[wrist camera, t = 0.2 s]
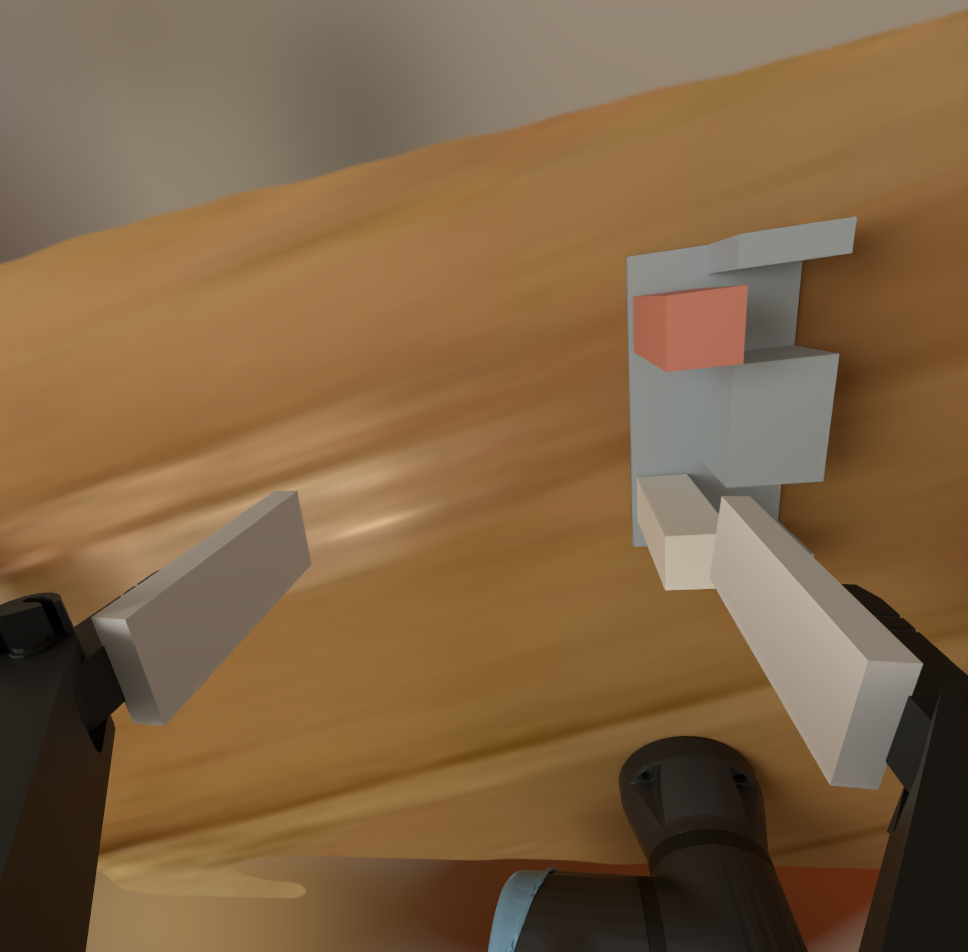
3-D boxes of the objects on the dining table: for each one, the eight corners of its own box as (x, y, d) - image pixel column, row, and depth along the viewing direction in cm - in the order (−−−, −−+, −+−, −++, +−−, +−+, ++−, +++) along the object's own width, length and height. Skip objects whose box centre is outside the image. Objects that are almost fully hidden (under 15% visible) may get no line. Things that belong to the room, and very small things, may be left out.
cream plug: (685, 517, 42) (730, 588, 31) (637, 520, 42) (665, 590, 32) (686, 473, 40) (733, 532, 30) (636, 477, 41) (665, 536, 31)
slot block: (773, 536, 42) (811, 576, 36) (632, 543, 44) (646, 582, 38) (801, 231, 34) (856, 216, 28) (626, 257, 36) (642, 248, 30)
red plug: (689, 346, 37) (743, 363, 26) (634, 352, 37) (665, 372, 27) (690, 289, 35) (748, 284, 25) (632, 296, 36) (666, 295, 26)
